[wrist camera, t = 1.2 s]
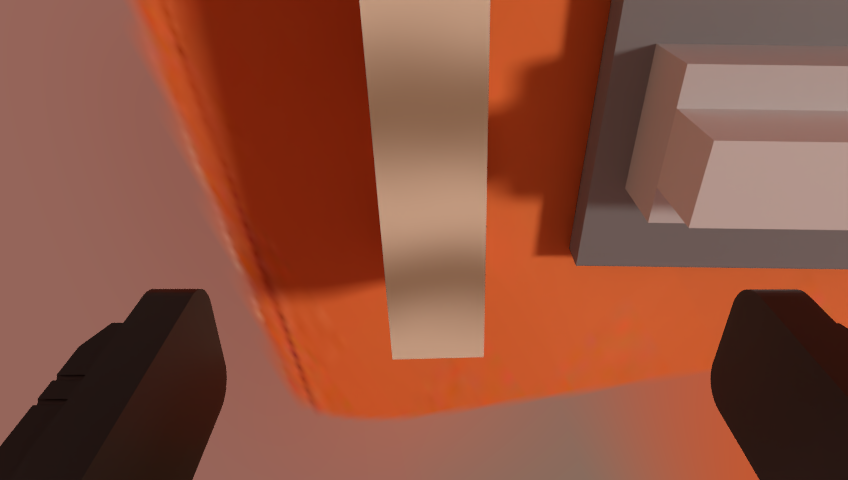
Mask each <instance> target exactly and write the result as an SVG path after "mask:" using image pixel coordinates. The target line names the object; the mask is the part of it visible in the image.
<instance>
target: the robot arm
mask: <svg viewBox="0 0 848 480" xmlns="http://www.w3.org/2000/svg"><path fill="white" fill-rule="evenodd" d="M226 378H227V376H226V365H225V361H224V357H223V352H222V348H221V344H220V340H219V335H218V331H217V327H216V323H215V319H214V314H213V310H212V306H211V302H210V299H209V296H208V294H207V293H206V292H205V290H203V289H151V290H149V291H147V292H146V293H145V294H144V295H143V297H142V298H141V299H140V301H139V302H138V304H137V305H136V306H135V308H134V309H133V310H132V312H131V313H130V315H129V316H128V317H127V319H126V320H125V321H124V323H111V324H110V325H108V326H107V327H106V328H104V329H103V330H101V331H100V332H99V333H97V334H96V335H95V336H93V337H92V338H90V339H89V340H88V341H86V342H85V343H84V344H82V345H81V346H79V348H78V349H77V350H76V351H75V352H74V354H73V355H72V356H71V357H70V359H69V360H68V361H67V363H66V364H65V365H64V366H63V368H62V369H61V370H60V371H59V373H58V374H57V380H56V381H52V382H51V383H50V384H49V385H48V387H47V388H46V389H45V390H44V392H43V393H42V394H41V395H40V397H39V398H38V404H37V405H33V406H32V407H31V408H30V409H29V411H28V412H27V413H26V415H25V416H24V417H23V418H22V419H21V421H20V422H19V424H18V425H17V426H16V427H15V428H14V430H13V431H12V432H11V434H10V435H9V436H8V437H7V438H6V440H5V441H4V442H3V444H2V445H1V446H0V480H192V479H193V477H194V474H195V472H196V469H197V467H198V464H199V462H200V459H201V457H202V454H203V452H204V449H205V447H206V445H207V442H208V440H209V437H210V435H211V433H212V430H213V428H214V425H215V423H216V420H217V418H218V415H219V413H220V410H221V408H222V405H223V402H224V397H225V392H226V380H227V379H226ZM711 389H712V394H713V398H714V401H715V403H716V406H717V408H718V410H719V411H720V413H721V415H722V417H723V418H724V420H725V421H726V423H727V425H728V427H729V428H730V430H731V432H732V433H733V435H734V437H735V439H736V440H737V442H738V444H739V445H740V447H741V449H742V450H743V452H744V454H745V456H746V457H747V459H748V461H749V462H750V464H751V466H752V467H753V469H754V471H755V473H756V474H757V476H758V478H759V479H760V480H848V328H846V327H844V326H843V325H841V324H839V323H836V322H835V321H834V320H833V319H832V318H831V317H830V316H829V315H828V314H827V313H826V312H825V311H824V310H823V309H822V308H821V307H820V306H819V305H818V304H817V303H816V302H815V301H814V300H813V299H812V298H811V297H810V296H809V295H807V294H806V293H805V292H803V291H801V290H743V291H741V292H740V293H739V294H738V295H737V297H736V298H735V300H734V302H733V305H732V308H731V311H730V314H729V317H728V320H727V323H726V326H725V329H724V332H723V335H722V338H721V341H720V344H719V347H718V350H717V353H716V356H715V359H714V362H713V365H712V369H711Z"/></svg>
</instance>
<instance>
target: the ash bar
mask: <svg viewBox="0 0 848 480" xmlns="http://www.w3.org/2000/svg"><path fill="white" fill-rule="evenodd" d="M359 3H360V14H361V25H362V35H363V46H364V57H365V68H366V78H367V89H368V100H369V111H370V122H371V132H372V143H373V154H374V165H375V175H376V186H377V197H378V208H379V219H380V229H381V240H382V251H383V262H384V272H385V283H386V294H387V305H388V315H389V326H390V337H391V348H392V359H426V358H465V357H484V313H485V258H486V203H487V148H488V94H489V39H490V0H359Z"/></svg>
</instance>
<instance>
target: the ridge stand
mask: <svg viewBox="0 0 848 480" xmlns="http://www.w3.org/2000/svg"><path fill="white" fill-rule="evenodd" d="M569 249H570V252H571V254H572V257H573V259H574V262H575V264H576V266H649V267H722V268H795V269H848V0H611V6H610V12H609V18H608V23H607V29H606V35H605V41H604V47H603V53H602V59H601V65H600V71H599V76H598V82H597V88H596V94H595V100H594V106H593V112H592V118H591V123H590V129H589V135H588V141H587V147H586V153H585V159H584V165H583V171H582V176H581V182H580V188H579V194H578V200H577V206H576V212H575V218H574V223H573V229H572V235H571V241H570V247H569Z"/></svg>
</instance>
